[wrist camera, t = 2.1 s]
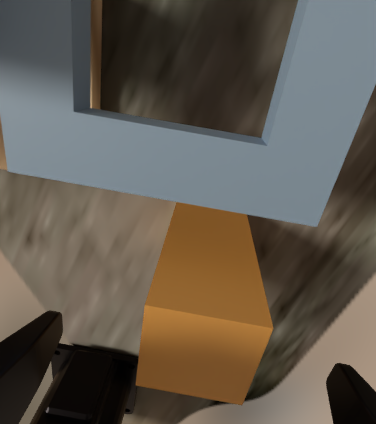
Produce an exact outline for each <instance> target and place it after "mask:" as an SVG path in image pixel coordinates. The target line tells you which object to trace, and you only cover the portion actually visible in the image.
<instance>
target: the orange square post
mask: <svg viewBox="0 0 376 424" xmlns="http://www.w3.org/2000/svg"><path fill="white" fill-rule="evenodd" d="M272 331H273V325H272V321H271V316H270V312H269V308H268V303H267V299H266V295H265V291H264V286H263V282H262V278H261V273H260V269H259V265H258V260H257V256H256V252H255V247H254V243H253V239H252V235H251V230H250V226H249V222H248V217H247V214H242V213H236V212H230V211H225V210H219V209H214V208H208V207H203V206H197V205H191V204H186V203H180V202H177V203H176V206H175V209H174V213H173V216H172V219H171V222H170V226H169V229H168V232H167V235H166V238H165V242H164V245H163V248H162V251H161V255H160V258H159V261H158V264H157V268H156V271H155V274H154V277H153V280H152V284H151V287H150V290H149V293H148V297H147V300H146V303H145V308H144V317H143V325H142V334H141V342H140V351H139V359H138V368H137V376H136V384H135V385H136V386H141V387H147V388H152V389H157V390H163V391H168V392H174V393H179V394H184V395H190V396H195V397H200V398H206V399H211V400H216V401H222V402H227V403H232V404H238V405H242V404H243V402H244V400H245V397H246V395H247V392H248V390H249V387H250V385H251V382H252V380H253V377H254V375H255V373H256V370H257V368H258V365H259V363H260V360H261V358H262V355H263V353H264V350H265V348H266V345H267V343H268V341H269V338H270V336H271V333H272Z"/></svg>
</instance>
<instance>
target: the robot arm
mask: <svg viewBox="0 0 376 424" xmlns="http://www.w3.org/2000/svg"><path fill="white" fill-rule="evenodd" d="M62 333H63V323H62V314H61V313H60V312H56V311H47V312H45V313H44V314H42V315H41V316H39V317H38V318H36V319H35V320H33V321H32V322H30V323H29V324H27V325H26V326H24V327H23V328H21V329H20V330H18V331H17V332H15V333H13V334H12V335H10V336H9V337H7V338H6V339H4V340H3V341H2V342H0V424H19V422H20V420H21V418H22V417H23V415H24V413H25V411H26V409H27V408H28V406H29V404H30V402H31V400H32V399H33V397H34V395H35V393H36V392H37V390H38V388H39V386H40V384H41V382H42V379H43V377H44V375H45V373H46V371H47V368H48V366H49V364H50V362H51V364H52V375H53V381H52V383H51V385H50V387H49V389H48V391H47V393H46V394H45V396H44V398H43V400H42V402H41V404H40V406H39V407H38V409H37V411H36V413H35V415H34V417H33V419H32V420H31V422H30V424H122V420H123V416H124V414H132V413H133V410H134V406H135V398H136V390H137V386H136V385H135V384H136V376H137V368H138V359H137V358H135V357H131V356H125V355H120V354H115V353H109V352H104V351H98V350H93V349H88V348H82V347H77V346H71V345H66V344H61V343H59V341H60V339H61V336H62ZM326 386H327V392H328V397H329V403H330V408H331V413H332V418H333V424H376V392H375V391H374V389H372V387H371V386H370V385H369V384H368V383H367V382H366V381H365V380H364V379H363V378H362V377H361V376H360V375H359V374H358V373H357V372H356V370H354V368H352V367H351V366H350V365H346V364H341V363H337V364H335V366H334V367H333V369H332V371H331V372H330V374H329V376H328V378H327V381H326Z"/></svg>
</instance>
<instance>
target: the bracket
mask: <svg viewBox="0 0 376 424" xmlns="http://www.w3.org/2000/svg"><path fill="white" fill-rule="evenodd" d="M90 20H91V0H0V117H1V124H2V132H3V140H4V147H5V155H6V162H7V170H8V172H13V173H18V174H24V175H30V176H35V177H41V178H46V179H52V180H57V181H63V182H69V183H74V184H80V185H85V186H91V187H96V188H102V189H108V190H113V191H119V192H124V193H130V194H136V195H141V196H147V197H152V198H158V199H163V200H169V201H175V202H180V203H186V204H191V205H197V206H203V207H208V208H214V209H219V210H225V211H230V212H236V213H242V214H247V215H253V216H258V217H264V218H270V219H275V220H281V221H286V222H292V223H297V224H303V225H309V226H314V227H317V226H318V223H319V221H320V218H321V216H322V213H323V211H324V209H325V206H326V204H327V201H328V199H329V196H330V194H331V191H332V189H333V187H334V184H335V182H336V179H337V177H338V174H339V172H340V170H341V167H342V165H343V162H344V160H345V157H346V155H347V153H348V150H349V148H350V145H351V143H352V140H353V138H354V136H355V133H356V131H357V128H358V126H359V123H360V121H361V119H362V116H363V114H364V111H365V109H366V106H367V104H368V102H369V99H370V97H371V94H372V92H373V89H374V87H375V84H376V0H298V3H297V7H296V10H295V14H294V18H293V22H292V25H291V29H290V33H289V36H288V40H287V44H286V48H285V51H284V55H283V59H282V63H281V66H280V70H279V74H278V78H277V81H276V85H275V89H274V92H273V96H272V100H271V104H270V107H269V111H268V115H267V119H266V122H265V126H264V130H263V133H262V137H261V138H259V137H253V136H248V135H242V134H236V133H230V132H225V131H219V130H213V129H208V128H202V127H196V126H191V125H185V124H179V123H174V122H168V121H162V120H157V119H151V118H145V117H140V116H134V115H128V114H123V113H117V112H111V111H106V110H100V109H94V108H90Z"/></svg>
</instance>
